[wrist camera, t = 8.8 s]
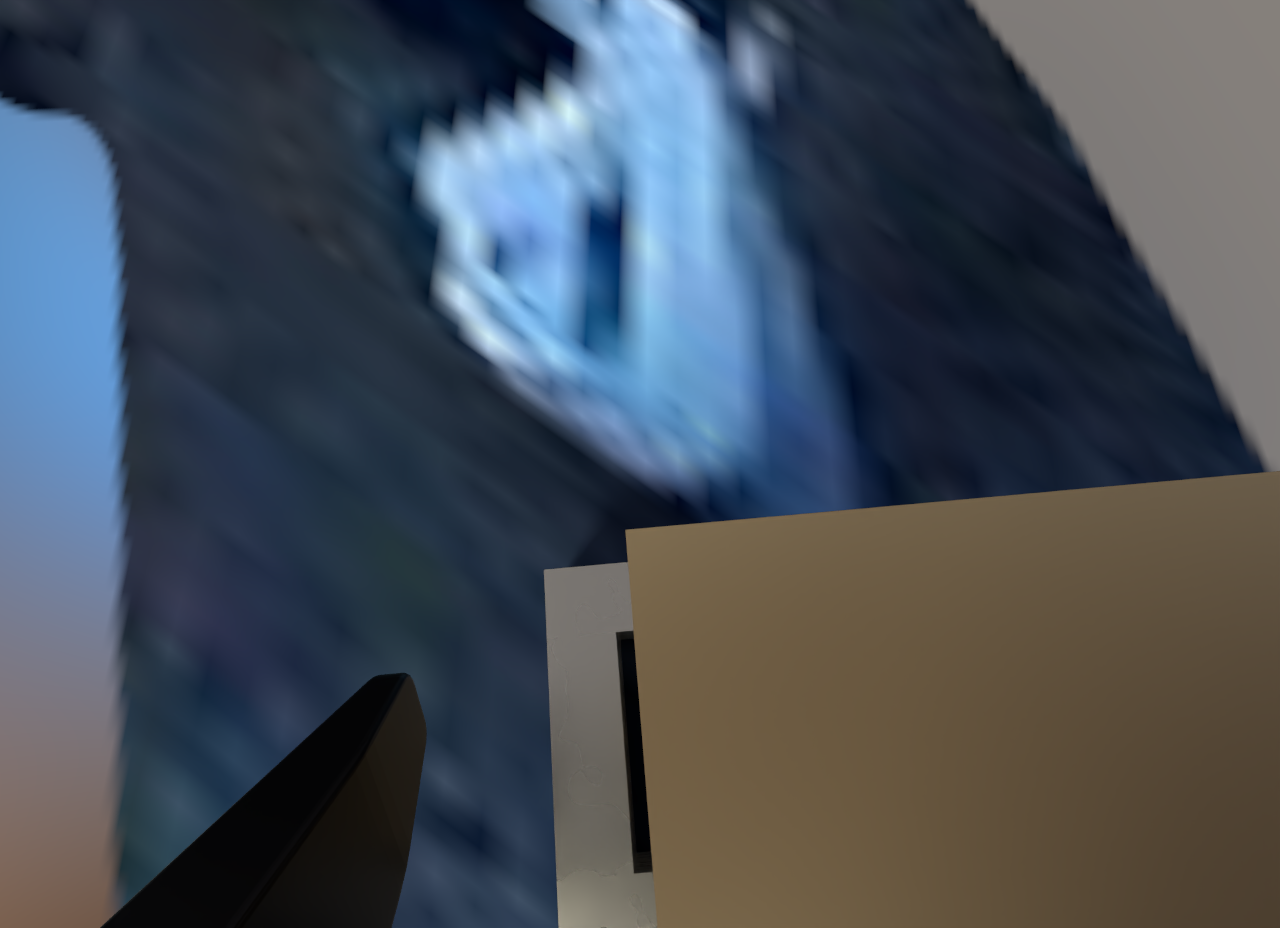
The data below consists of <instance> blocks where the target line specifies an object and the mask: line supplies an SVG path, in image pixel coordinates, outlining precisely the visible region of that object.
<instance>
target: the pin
mask: <svg viewBox="0 0 1280 928" xmlns="http://www.w3.org/2000/svg"><path fill="white" fill-rule="evenodd" d="M625 531H626V543H627V556H628V568H629V581H630V593H631V606H632V618H633V630H634V643H635V655H636V668H637V680H638V693H639V705H640V717H641V730H642V742H643V755H644V767H645V780H646V792H647V804H648V817H649V829H650V842H651V854H652V866H653V879H654V891H655V904H656V916H657V928H1280V471H1276V472H1265V473H1253V474H1242V475H1231V476H1220V477H1209V478H1198V479H1187V480H1175V481H1164V482H1153V483H1142V484H1131V485H1120V486H1109V487H1097V488H1086V489H1075V490H1064V491H1053V492H1042V493H1031V494H1019V495H1008V496H997V497H986V498H975V499H964V500H953V501H942V502H930V503H919V504H908V505H897V506H886V507H875V508H864V509H852V510H841V511H830V512H819V513H808V514H797V515H786V516H774V517H763V518H752V519H741V520H730V521H719V522H708V523H696V524H685V525H674V526H663V527H652V528H641V529H630V530H625Z"/></svg>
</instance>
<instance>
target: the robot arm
mask: <svg viewBox="0 0 1280 928" xmlns="http://www.w3.org/2000/svg"><path fill="white" fill-rule="evenodd" d="M426 735H427V733H426V722H425V719H424V715H423V712H422V708H421V705H420V702H419V698H418V695H417V691H416V688H415V685H414V682H413V680H412V678H411V676H410V675H408V674H406V673H396V674H385V675H378V676H375V677H373V678H372V679H370V680H369V681H368V682H367V683H366V684H365V685H364V686H362V687H361V688H360V689H359V690H358V691H357V692H356V693H355V694H354V695H353V696H352V697H350V698H349V699H348V700H347V701H346V702H345V703H344V704H343V705H342V706H341V707H340V708H338V709H337V710H336V711H335V712H334V713H333V714H332V715H331V716H330V717H329V718H328V719H327V720H325V721H324V722H323V723H322V724H321V725H320V726H319V727H318V728H317V729H316V730H315V731H313V732H312V733H311V734H310V735H309V736H308V737H307V738H306V739H305V740H304V741H303V742H302V743H300V744H299V745H298V746H297V747H296V748H295V749H294V750H293V751H292V752H291V753H290V754H288V755H287V756H286V757H285V758H284V759H283V760H282V761H281V762H280V763H279V764H278V765H277V766H275V767H274V768H273V769H272V770H271V771H270V772H269V773H268V774H267V775H266V776H265V777H263V778H262V779H261V780H260V781H259V782H258V783H257V784H256V785H255V786H254V787H253V788H251V789H250V790H249V791H248V792H247V793H246V794H245V795H244V796H243V797H242V798H241V799H240V800H238V801H237V802H236V803H235V804H234V805H233V806H232V807H231V808H230V809H229V810H228V811H226V812H225V813H224V814H223V815H222V816H221V817H220V818H219V819H218V820H217V821H216V822H215V823H213V824H212V825H211V826H210V827H209V828H208V829H207V830H206V831H205V832H204V833H203V834H201V835H200V836H199V837H198V838H197V839H196V840H195V841H194V842H193V843H192V844H191V845H190V846H188V847H187V848H186V849H185V850H184V851H183V852H182V853H181V854H180V855H179V856H178V857H176V858H175V859H174V860H173V861H172V862H171V863H170V864H169V865H168V866H167V867H166V868H164V869H163V870H162V871H161V872H160V873H159V874H158V875H157V876H156V877H155V878H154V879H153V880H151V881H150V882H149V883H148V884H147V885H146V886H145V887H144V888H143V889H142V890H141V891H139V892H138V893H137V894H136V895H135V896H134V897H133V898H132V899H131V900H130V901H129V902H128V903H126V904H125V905H124V906H123V907H122V908H121V909H120V910H119V911H118V912H117V913H116V914H114V915H113V916H112V917H111V918H110V919H109V920H108V921H107V922H106V923H105V924H104V925H103V926H101V927H100V928H392V924H393V920H394V916H395V912H396V909H397V905H398V901H399V897H400V893H401V889H402V885H403V881H404V876H405V872H406V868H407V862H408V856H409V851H410V845H411V838H412V831H413V825H414V818H415V812H416V805H417V799H418V792H419V786H420V779H421V772H422V766H423V759H424V753H425V746H426Z"/></svg>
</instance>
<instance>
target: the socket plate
mask: <svg viewBox="0 0 1280 928" xmlns="http://www.w3.org/2000/svg"><path fill="white" fill-rule="evenodd" d="M544 581H545V605H546V629H547V654H548V678H549V702H550V726H551V751H552V775H553V799H554V823H555V848H556V872H557V896H558V921H559V928H657V916H656V904H655V891H654V879H653V866H652V854H651V851H644V852H637V848H636V835H635V822H634V809H633V795H632V782H631V769H630V756H629V743H628V730H627V716H626V703H625V690H624V677H623V664H622V651H621V640H625V639H634V630H633V618H632V606H631V593H630V581H629V568H628V562H624V563H613V564H602V565H591V566H580V567H569V568H558V569H547V570H544Z"/></svg>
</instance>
